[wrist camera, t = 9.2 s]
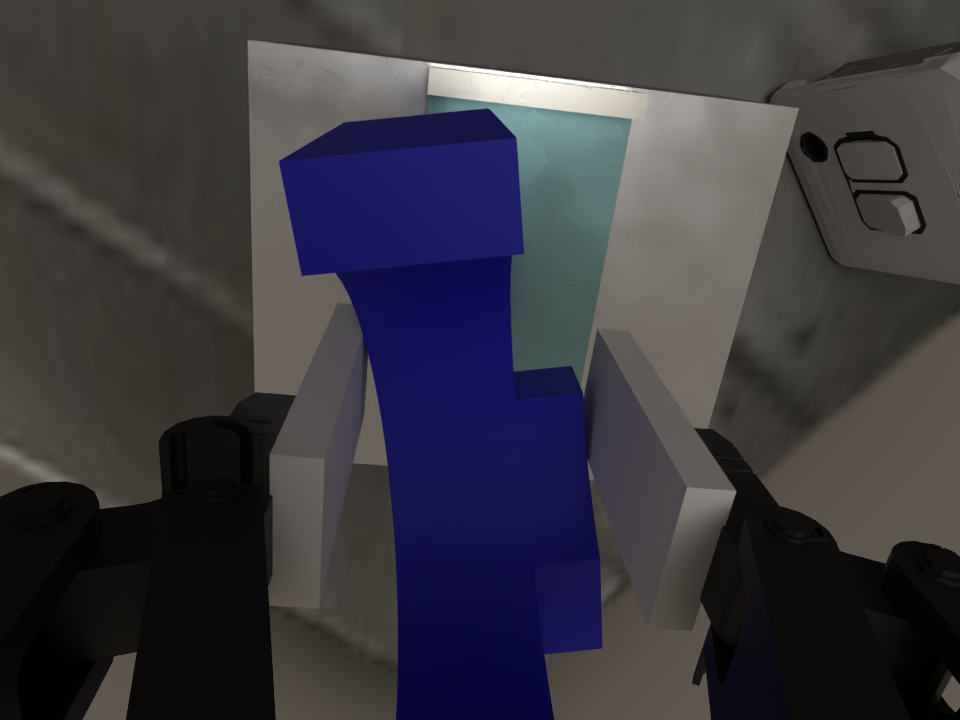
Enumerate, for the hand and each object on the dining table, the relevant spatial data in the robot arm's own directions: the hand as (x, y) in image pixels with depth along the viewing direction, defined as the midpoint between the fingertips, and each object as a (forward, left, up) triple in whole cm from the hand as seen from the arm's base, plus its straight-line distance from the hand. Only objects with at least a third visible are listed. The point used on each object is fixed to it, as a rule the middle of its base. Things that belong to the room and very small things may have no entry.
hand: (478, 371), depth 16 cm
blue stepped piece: (0, 0, 0) cm, 1 cm away
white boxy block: (+2, -2, -17) cm, 18 cm away
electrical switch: (+18, +5, -18) cm, 25 cm away
